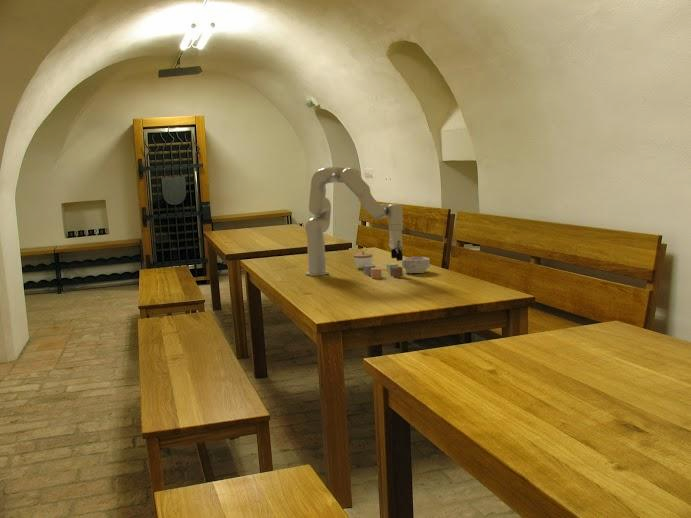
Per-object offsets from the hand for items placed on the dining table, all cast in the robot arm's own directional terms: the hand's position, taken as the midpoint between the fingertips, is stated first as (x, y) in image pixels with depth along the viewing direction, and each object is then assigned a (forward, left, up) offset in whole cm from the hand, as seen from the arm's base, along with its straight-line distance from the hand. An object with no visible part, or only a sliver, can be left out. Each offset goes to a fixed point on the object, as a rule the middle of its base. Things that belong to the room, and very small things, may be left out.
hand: (397, 259), depth 377 cm
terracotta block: (-1, -11, -9) cm, 15 cm away
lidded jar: (-34, -10, -10) cm, 37 cm away
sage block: (-12, +1, -9) cm, 15 cm away
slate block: (-12, -12, -9) cm, 20 cm away
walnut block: (0, 0, -9) cm, 9 cm away
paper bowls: (-8, +13, -10) cm, 18 cm away
